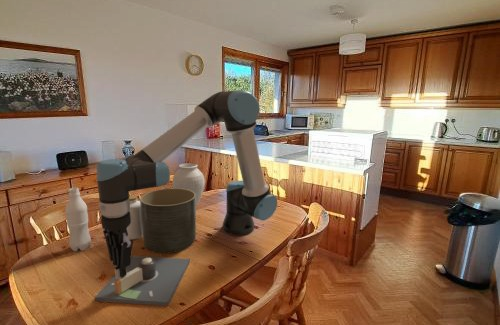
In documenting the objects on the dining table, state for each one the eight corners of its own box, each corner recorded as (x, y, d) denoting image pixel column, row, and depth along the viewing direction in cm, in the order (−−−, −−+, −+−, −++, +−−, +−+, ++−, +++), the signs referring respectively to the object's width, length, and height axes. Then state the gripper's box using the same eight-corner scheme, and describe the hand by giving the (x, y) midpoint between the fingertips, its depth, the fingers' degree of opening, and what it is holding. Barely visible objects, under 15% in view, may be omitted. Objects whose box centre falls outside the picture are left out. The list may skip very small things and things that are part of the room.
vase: (176, 201, 157) (174, 161, 152) (205, 201, 159) (205, 161, 154) (170, 213, 139) (168, 168, 134) (203, 212, 141) (203, 168, 136)
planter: (155, 227, 123) (153, 187, 119) (201, 229, 122) (200, 188, 118) (133, 253, 101) (129, 204, 97) (189, 255, 101) (187, 206, 96)
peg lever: (149, 268, 89) (148, 254, 88) (159, 273, 87) (158, 259, 86) (112, 290, 78) (110, 274, 77) (121, 297, 76) (120, 280, 75)
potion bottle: (137, 241, 110) (134, 201, 106) (120, 239, 111) (116, 199, 108) (148, 232, 118) (146, 195, 114) (132, 230, 119) (129, 193, 116)
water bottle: (95, 245, 106) (89, 187, 101) (79, 254, 99) (71, 192, 94) (82, 242, 108) (75, 185, 103) (65, 250, 102) (57, 190, 96)
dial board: (190, 261, 96) (189, 258, 96) (168, 305, 75) (167, 301, 75) (132, 258, 98) (132, 255, 97) (95, 300, 76) (94, 296, 76)
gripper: (91, 211, 75) (99, 281, 80) (114, 224, 68) (120, 300, 73) (117, 203, 81) (122, 269, 86) (140, 214, 74) (144, 286, 79)
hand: (121, 283), depth 80 cm, fingers closed
